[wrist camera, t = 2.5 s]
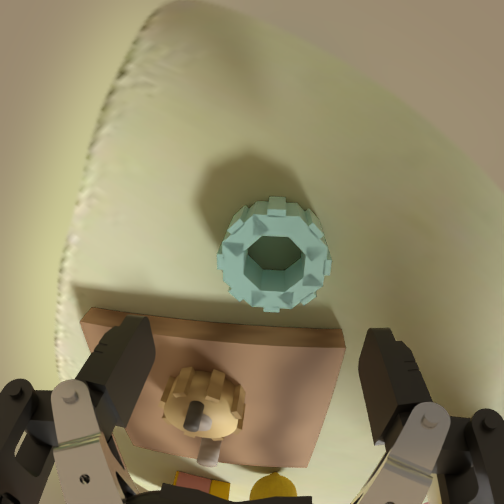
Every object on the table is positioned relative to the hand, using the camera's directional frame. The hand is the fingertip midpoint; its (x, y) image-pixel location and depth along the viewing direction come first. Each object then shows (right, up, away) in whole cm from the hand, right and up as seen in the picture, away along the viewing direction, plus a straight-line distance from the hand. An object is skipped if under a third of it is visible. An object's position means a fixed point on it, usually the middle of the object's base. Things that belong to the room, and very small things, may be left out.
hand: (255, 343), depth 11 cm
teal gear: (+1, +4, +8) cm, 9 cm away
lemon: (+3, -24, +20) cm, 31 cm away
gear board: (-4, -10, +14) cm, 18 cm away
